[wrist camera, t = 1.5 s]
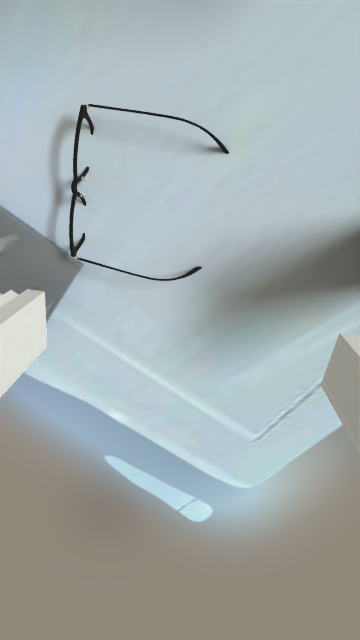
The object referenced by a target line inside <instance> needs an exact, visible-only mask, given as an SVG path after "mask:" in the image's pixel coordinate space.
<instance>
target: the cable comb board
mask: <svg viewBox="0 0 360 640" xmlns="http://www.w3.org/2000/svg"><path fill="white" fill-rule="evenodd" d="M83 265H84V264H82V263H81V262H80V261H78V260H77V259H75V258H73V257H72V256H71V255H70V254H68V253H67V252H65V251H64V250H63V249H61V248H60V247H58V246H57V245H56V244H54V243H53V242H51V241H50V240H48V239H47V238H46V237H44V236H43V235H41V234H40V233H39V232H37V231H36V230H34V229H33V228H31V227H30V226H29V225H27V224H26V223H24V222H23V221H22V220H20V219H19V218H17V217H16V216H14V215H13V214H12V213H10V212H9V211H7V210H6V209H5V208H3V207H2V206H0V293H1V294H5V293H7V292H8V291H10V290H13V291H14V292H16V293H17V294H21V293H22V292H24V291H25V290H27V289H30V290H38V291H45V307H46V308H47V311H46V322H47V321H48V319H49V318H50V316H51V315H52V313H53V311H54V310H55V308H56V307H57V305H58V304H59V302H60V301H61V299H62V297H63V296H64V294H65V293H66V291H67V290H68V288H69V286H70V285H71V283H72V282H73V280H74V279H75V277H76V275H77V274H78V272H79V271H80V269H81V268H82V266H83Z"/></svg>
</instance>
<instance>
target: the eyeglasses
mask: <svg viewBox="0 0 360 640" xmlns="http://www.w3.org/2000/svg"><path fill="white" fill-rule="evenodd" d="M86 106H88V108H90V106H91V107H98V108H105V109H112V110H120V111H127V112H134V113H141V114H148V115H154V116H160V117H166V118H172V119H177V120H181V121H184V122H187V123H190V124H192V125H195V126H197V127H199V128H200V129H202V130H204V131H205V132H206V133H208V134H209V135H210V136H211V137H212V138H213V139H214V140H215V141H216V142H217V144H218V145H219V146H220V148H221V149H222V150H223V151H224V152H225V153H227V154H229V152H228V150H227V149H226V148H225V146H224V145H223V144H222V143H221V142H220V141H219V140H218V139H217V138H216V137H215V136H214V135H213V134H212V133H210V132H209V131H208V130H206V129H205V128H203V127H201V126H199V125H197V124H195V123H193V122H191V121H188V120H185V119H182V118H178V117H173V116H168V115H162V114H156V113H149V112H143V111H135V110H128V109H121V108H114V107H107V106H100V105H93V104H84V103H82V105H81V107H80V112H79V117H78V122H77V127H76V134H75V143H74V157H73V174H74V180H73V181H72V185H71V189H72V193H73V196H72V202H71V209H70V224H69V238H70V251H71V256H72V257H73V258H75V259H78V260H82V261H85V262H89V263H92V264H96V265H99V266H102V267H106V268H109V269H113V270H117V271H120V272H124V273H127V274H131V275H135V276H139V277H143V278H146V279H151V280H159V281H170V280H177V279H181V278H184V277H187V276H189V275H192V274H193V273H195V272H197V271H198V270H200V269H201V268H202V267H195V268H194V269H193V270H191V271H190V272H188V273H187V274H185V275H183V276H180V277H177V278H172V279H155V278H150V277H145V276H141V275H137V274H133V273H130V272H126V271H123V270H119V269H116V268H113V267H109V266H106V265H102V264H99V263H96V262H92V261H89V260H86V259H82V258H79V257H78V256H77V257H75V256H76V254H77V251H78V250H79V248H80V247H81V245H82V244H83V242H84V240H85V233H83V235H82V239H81V241H80V242H79V244H78V245H77V246H76V247H74V243H73V214H74V207H75V200H76V197H77V196H78V197H80V199H81V200H82V202H83V205H85V206H86V201H85V199H84V196H85V193H82V194H80V193H79V192H78V191H77V184H78V182H80V181H81V180H83V178H84V180H83V181H84V182H85V181H86V180H87V177H85V176H86V174H87V173H88V170H89V167H86V169H85V171H84V172H83V174H82V175H81V176H79V177H78V176H77V152H78V142H79V134H80V129H81V124H82V120H83V118H85V119H86V120H87V121H88V123H89V125H90V128H91V134H92V135H93V131H94V126H93V123H92V121H91V119H90V117H89V115H88V113H87V107H86Z"/></svg>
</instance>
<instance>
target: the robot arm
mask: <svg viewBox="0 0 360 640" xmlns="http://www.w3.org/2000/svg"><path fill="white" fill-rule="evenodd" d="M46 347H47V330H46V309H45V291H38V290H30V289H27V290H25V291H24V292H22V293H21V294H19V295H18V296H16V297H15V298H13V299H12V300H10V301H9V302H7V303H6V304H4V305H3V306H1V307H0V398H1V396H2V395H3V394H4V393H5V392H6V391H7V390H8V389H9V387H10V386H11V385H12V384H13V383H14V382H15V381H16V380H17V379H18V378H19V376H20V375H21V374H22V373H23V372H24V371H25V370H26V369H27V368H28V367H29V365H30V364H31V363H32V362H33V361H34V360H35V359H36V358H37V357H38V355H39V354H40V353H41V352H42V351H43V350H44V349H45V348H46ZM321 386H322V388H323V390H324V391H325V393H326V395H327V397H328V399H329V400H330V402H331V404H332V406H333V408H334V409H335V411H336V413H337V415H338V417H339V418H340V420H341V422H342V424H343V426H344V427H345V429H346V431H347V433H348V435H349V436H350V438H351V440H352V442H353V444H354V445H355V447H356V449H357V451H358V452H359V454H360V338H359V337H358V336H357V335H349V334H342V333H340V334H339V336H338V339H337V342H336V345H335V347H334V350H333V353H332V355H331V358H330V361H329V364H328V366H327V369H326V372H325V375H324V377H323V380H322V383H321Z"/></svg>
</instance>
